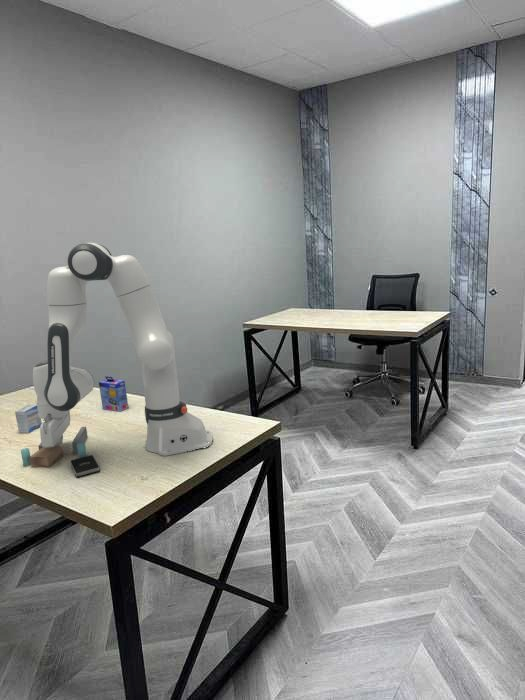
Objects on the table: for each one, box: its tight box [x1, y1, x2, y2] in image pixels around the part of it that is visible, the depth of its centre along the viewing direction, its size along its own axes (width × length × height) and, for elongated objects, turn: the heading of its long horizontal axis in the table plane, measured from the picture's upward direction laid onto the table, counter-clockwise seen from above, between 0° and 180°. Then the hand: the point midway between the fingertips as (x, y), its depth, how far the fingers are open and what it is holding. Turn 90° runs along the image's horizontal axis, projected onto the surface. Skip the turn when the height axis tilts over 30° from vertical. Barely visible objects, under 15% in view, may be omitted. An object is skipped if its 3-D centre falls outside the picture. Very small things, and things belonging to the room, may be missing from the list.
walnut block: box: [30, 446, 64, 469], centre depth 154 cm, size 6×8×4 cm
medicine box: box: [14, 404, 43, 434], centre depth 182 cm, size 8×4×9 cm, turn 168°
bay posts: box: [20, 442, 87, 467], centre depth 153 cm, size 19×2×5 cm, turn 98°
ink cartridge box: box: [98, 375, 129, 413], centre depth 199 cm, size 10×6×14 cm, turn 64°
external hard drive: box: [69, 454, 101, 479], centre depth 148 cm, size 7×11×2 cm, turn 30°
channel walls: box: [37, 426, 88, 455], centre depth 164 cm, size 12×14×4 cm
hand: (59, 449), depth 159 cm, fingers closed
